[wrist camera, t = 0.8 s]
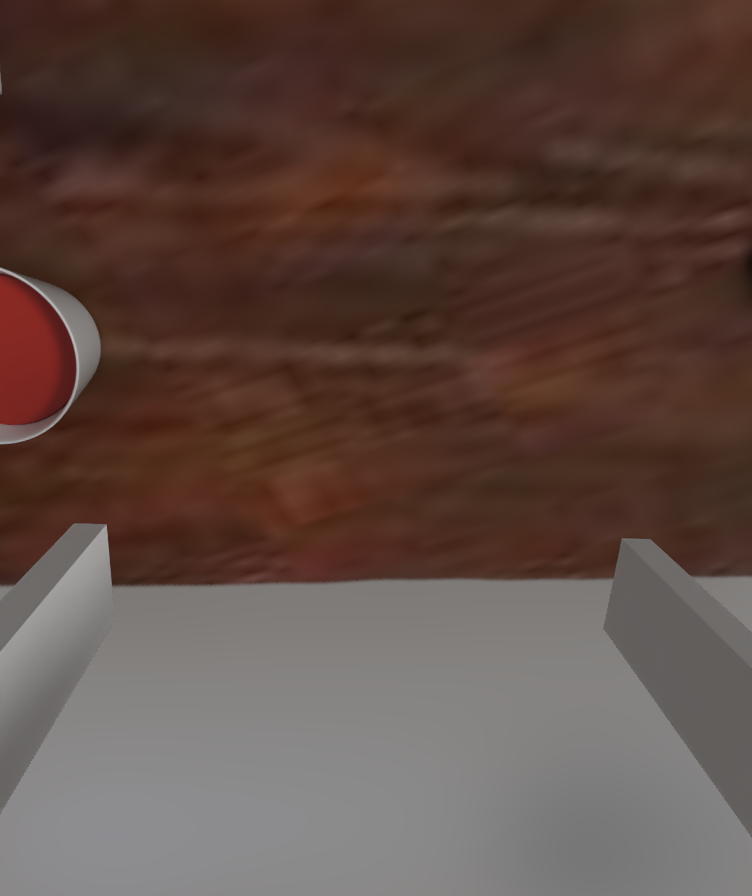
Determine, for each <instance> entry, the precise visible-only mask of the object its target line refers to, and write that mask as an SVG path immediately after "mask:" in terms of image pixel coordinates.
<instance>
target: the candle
mask: <svg viewBox="0 0 752 896" xmlns="http://www.w3.org/2000/svg"><path fill="white" fill-rule="evenodd" d="M100 354H101V344H100V337H99V333H98V330H97V327H96V325H95V322H94V320H93V318H92V317H91V315H90V314H89V312H88V311H87V309H86V308H85V307H84V306H83V305H82V304H81V303H80V302H79V301H78V300H77V299H76V298H75V297H74V296H72V295H71V294H69V293H68V292H66V291H65V290H63V289H61V288H59V287H57V286H55V285H52V284H50V283H47V282H44V281H41V280H38V279H35V278H32V277H29V276H26V275H22V274H19V273H16V272H13V271H10V270H7V269H4V268H0V444H10V443H17V442H21V441H25V440H28V439H31V438H34V437H36V436H38V435H40V434H42V433H44V432H45V431H47V430H48V429H50V428H51V427H52V426H53V425H55V424H56V423H57V422H58V421H59V420H60V419H61V418H62V417H63V415H64V414H65V413H66V412H67V410H68V409H69V408H70V407H71V405H72V404H73V403H74V401H75V400H76V399H77V398H78V396H79V395H80V394H81V392H82V391H83V390H84V389H85V387H86V386H87V385H88V383H89V382H90V380H91V379H92V377H93V376H94V374H95V372H96V370H97V367H98V364H99V360H100Z"/></svg>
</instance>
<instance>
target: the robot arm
mask: <svg viewBox="0 0 752 896" xmlns="http://www.w3.org/2000/svg"><path fill="white" fill-rule="evenodd" d="M114 621H115V620H114V608H113V597H112V584H111V572H110V560H109V548H108V536H107V524H73V525H72V526H71V527H70V528H69V529H68V530H67V531H66V533H65V534H64V535H63V536H62V537H61V538H60V539H59V540H58V541H57V542H56V543H55V544H54V545H53V546H52V547H51V548H50V549H49V550H48V551H47V552H46V553H45V555H44V556H43V557H42V558H41V559H40V560H39V561H38V562H37V563H36V564H35V565H34V566H33V567H32V568H31V569H30V570H29V571H28V572H27V573H26V574H25V575H24V576H23V578H22V579H21V580H20V581H19V582H18V583H17V584H16V585H15V586H14V587H13V588H12V589H11V590H10V591H9V592H8V593H7V594H6V595H5V596H4V597H3V599H2V600H1V601H0V813H1V812H2V810H3V808H4V807H5V805H6V803H7V801H8V800H9V798H10V796H11V795H12V793H13V791H14V790H15V788H16V786H17V785H18V783H19V781H20V780H21V778H22V776H23V775H24V773H25V771H26V769H27V768H28V766H29V764H30V763H31V761H32V759H33V758H34V756H35V754H36V753H37V751H38V749H39V748H40V746H41V744H42V743H43V741H44V739H45V738H46V736H47V734H48V732H49V731H50V729H51V727H52V726H53V724H54V722H55V720H56V719H57V717H58V716H59V714H60V712H61V711H62V709H63V707H64V706H65V704H66V702H67V700H68V699H69V697H70V695H71V694H72V692H73V690H74V689H75V687H76V685H77V684H78V682H79V680H80V679H81V677H82V675H83V674H84V672H85V670H86V669H87V667H88V665H89V663H90V662H91V660H92V658H93V657H94V655H95V653H96V652H97V650H98V648H99V647H100V645H101V643H102V642H103V640H104V638H105V637H106V635H107V633H108V631H109V630H110V628H111V626H112V625H113V623H114ZM604 630H605V631H606V633H607V634H608V635H609V637H610V638H611V640H612V641H613V642H614V644H615V645H616V647H617V648H618V650H619V651H620V652H621V654H622V655H623V657H624V658H625V659H626V661H627V662H628V664H629V665H630V666H631V668H632V669H633V671H634V672H635V674H636V675H637V676H638V678H639V679H640V681H641V682H642V683H643V685H644V686H645V688H646V689H647V690H648V692H649V693H650V694H651V696H652V697H653V699H654V700H655V702H656V703H657V704H658V706H659V707H660V709H661V710H662V711H663V713H664V714H665V716H666V717H667V719H668V720H669V721H670V723H671V724H672V726H673V727H674V728H675V730H676V731H677V733H678V734H679V735H680V737H681V738H682V740H683V741H684V743H685V744H686V745H687V747H688V748H689V750H690V751H691V752H692V754H693V755H694V757H695V758H696V759H697V760H698V762H699V764H701V766H702V768H703V769H704V770H705V772H706V773H707V775H708V776H709V778H710V779H711V781H712V782H713V783H714V785H715V786H716V788H717V789H718V790H719V792H720V793H721V794H722V796H723V797H724V799H725V800H726V802H727V803H728V804H729V806H730V807H731V809H732V810H733V811H734V813H735V814H736V816H737V817H738V818H739V820H740V821H741V823H742V824H743V826H744V827H745V828H746V830H747V831H748V833H749V834H750V835H751V837H752V632H751V631H750V630H748V629H747V628H746V627H745V626H744V625H743V624H742V623H741V622H740V621H738V619H737V618H735V617H734V616H733V615H732V614H731V613H730V612H729V611H728V610H727V609H726V608H725V607H723V606H722V605H721V604H720V603H719V602H718V601H717V600H716V599H715V598H714V597H713V596H711V595H710V594H709V593H708V592H707V591H706V590H705V589H704V588H703V587H702V586H701V585H699V584H698V583H697V582H696V581H695V580H694V579H693V578H692V577H691V576H690V575H689V574H687V573H686V572H685V571H684V570H683V569H682V568H681V567H680V566H679V565H678V564H677V563H675V562H674V561H673V560H672V559H671V558H670V557H669V556H668V555H667V554H666V553H665V552H663V551H662V550H661V549H660V548H659V547H658V546H657V545H656V544H655V543H654V542H653V541H651V540H650V539H622V542H621V547H620V551H619V556H618V561H617V566H616V571H615V576H614V581H613V586H612V590H611V595H610V600H609V604H608V609H607V614H606V619H605V624H604Z"/></svg>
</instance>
